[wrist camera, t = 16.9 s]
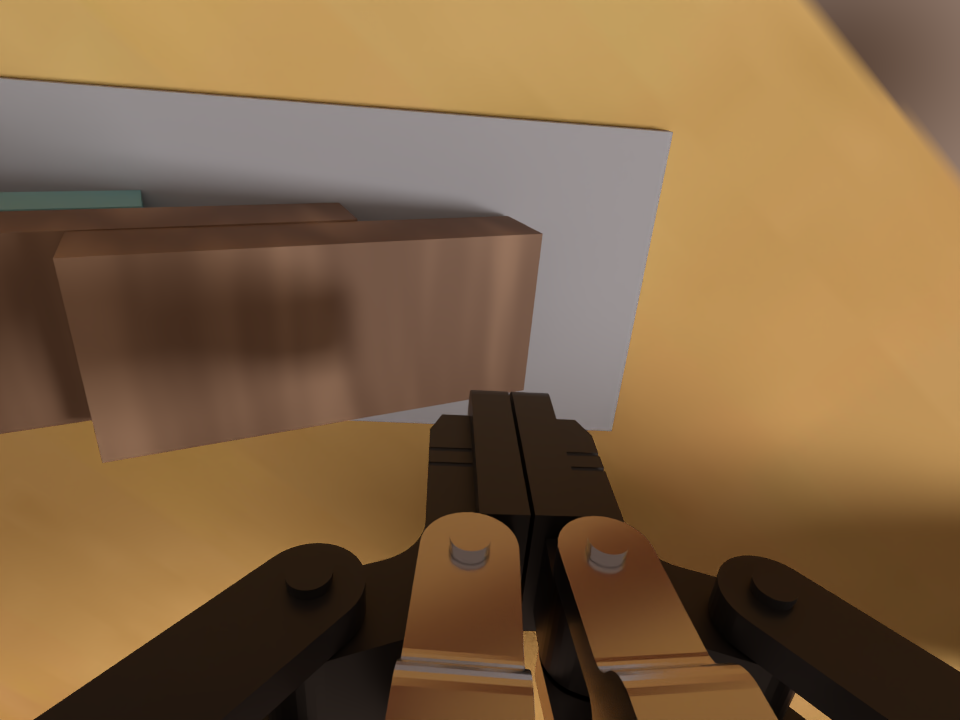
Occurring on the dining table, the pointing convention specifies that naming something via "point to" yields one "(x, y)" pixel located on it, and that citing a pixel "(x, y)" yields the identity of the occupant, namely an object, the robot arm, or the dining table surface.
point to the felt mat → (381, 194)
